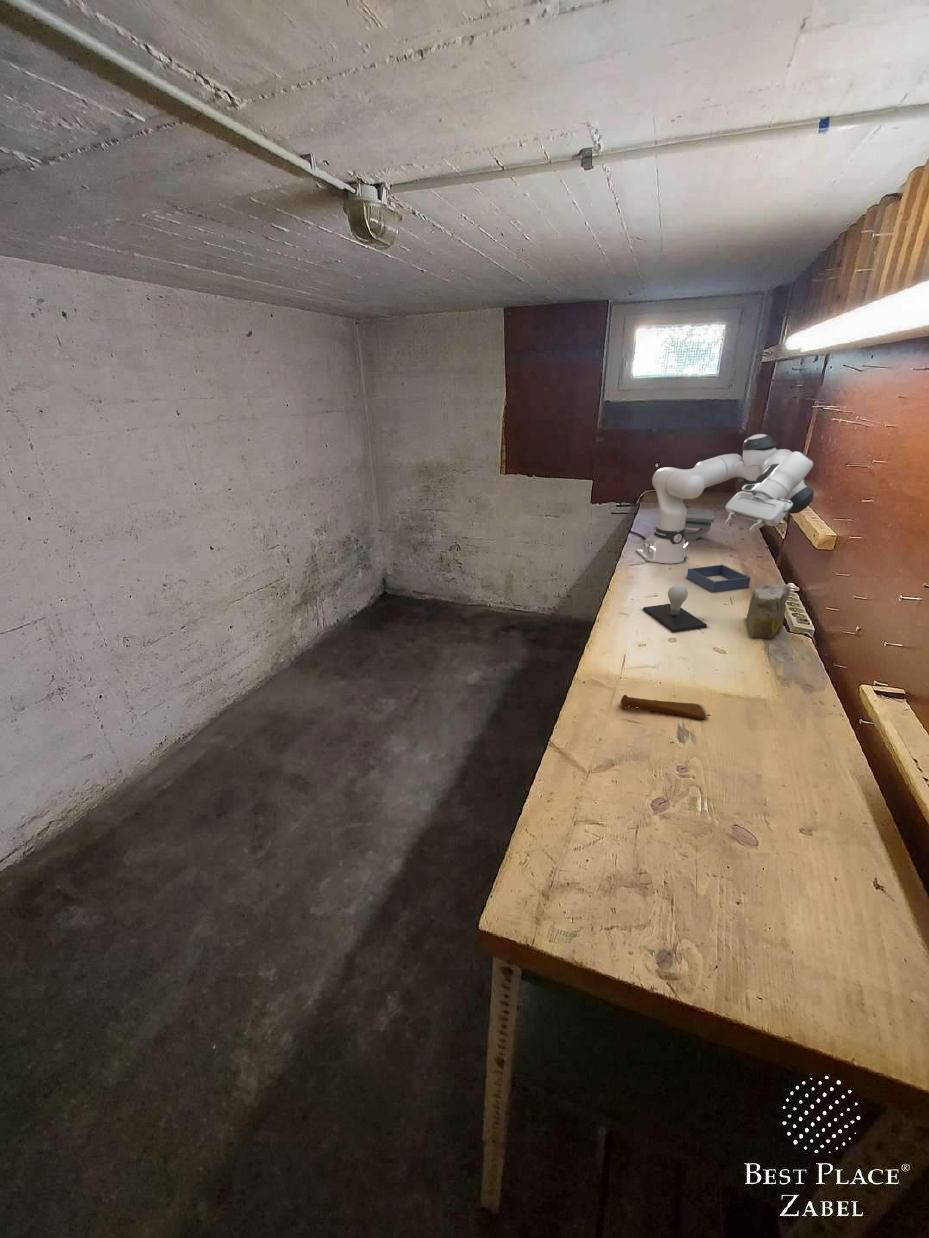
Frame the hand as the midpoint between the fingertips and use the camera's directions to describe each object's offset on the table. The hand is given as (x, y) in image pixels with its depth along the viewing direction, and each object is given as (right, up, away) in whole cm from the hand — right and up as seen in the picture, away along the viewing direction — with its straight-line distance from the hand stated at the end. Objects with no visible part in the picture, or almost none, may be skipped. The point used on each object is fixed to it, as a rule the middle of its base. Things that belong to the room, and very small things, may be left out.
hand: (737, 528), depth 160 cm
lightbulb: (-20, -29, +2) cm, 36 cm away
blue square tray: (+8, -16, +29) cm, 34 cm away
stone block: (+4, -34, -8) cm, 35 cm away
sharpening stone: (+20, +11, +84) cm, 88 cm away
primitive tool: (-42, -53, -42) cm, 79 cm away
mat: (-20, -30, +3) cm, 36 cm away
